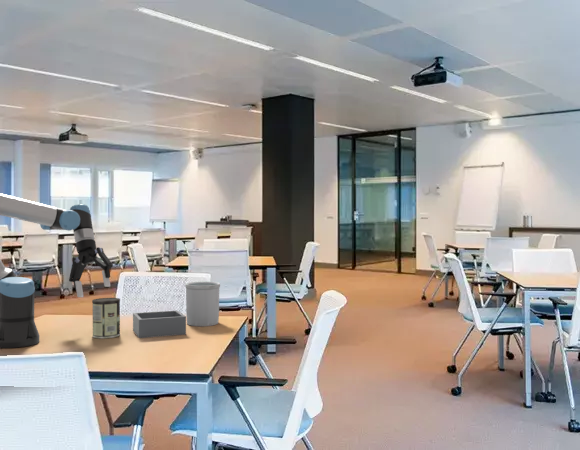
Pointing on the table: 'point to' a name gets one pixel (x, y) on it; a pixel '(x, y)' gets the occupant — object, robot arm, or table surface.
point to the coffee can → (106, 317)
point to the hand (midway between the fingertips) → (94, 291)
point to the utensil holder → (202, 303)
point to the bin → (159, 324)
